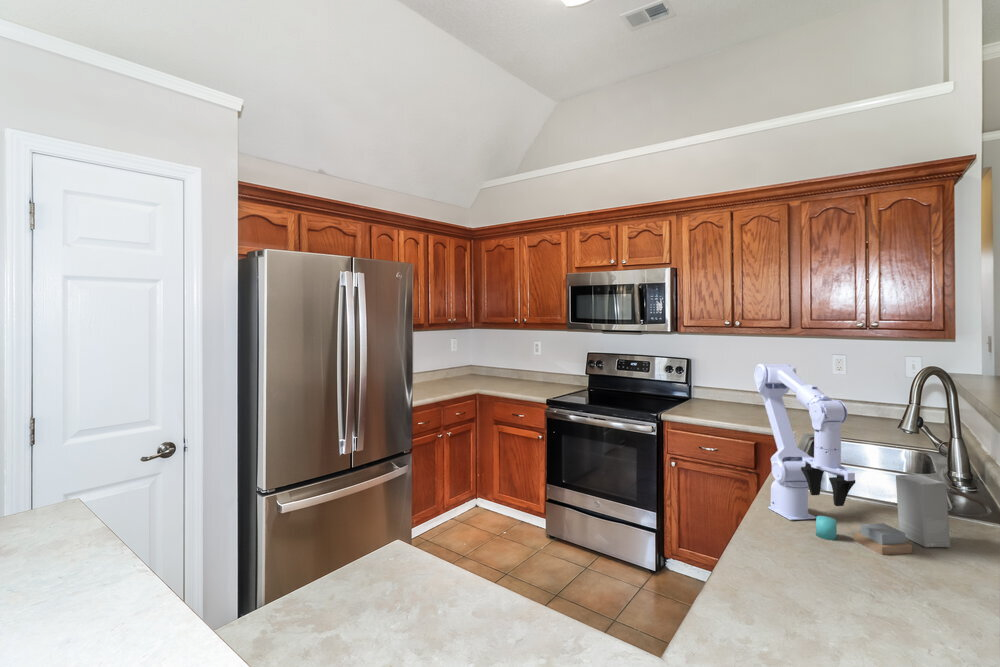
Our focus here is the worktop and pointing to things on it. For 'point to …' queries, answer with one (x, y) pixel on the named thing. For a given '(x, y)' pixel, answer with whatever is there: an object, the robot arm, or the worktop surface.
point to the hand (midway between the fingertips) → (826, 500)
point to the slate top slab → (883, 533)
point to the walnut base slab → (882, 548)
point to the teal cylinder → (826, 527)
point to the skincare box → (923, 510)
